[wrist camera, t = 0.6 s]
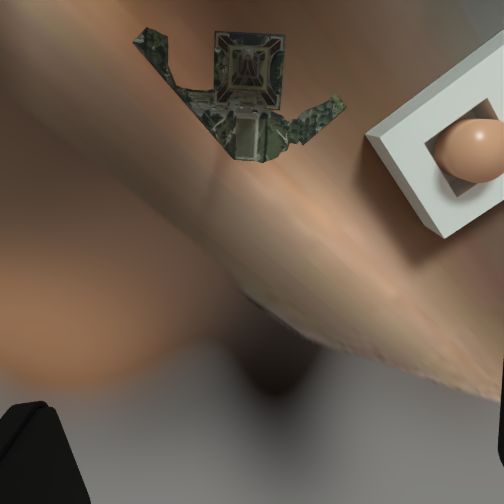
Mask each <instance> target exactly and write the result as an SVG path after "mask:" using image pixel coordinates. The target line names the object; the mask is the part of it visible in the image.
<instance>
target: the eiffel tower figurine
mask: <svg viewBox="0 0 504 504" xmlns="http://www.w3.org/2000/svg"><path fill="white" fill-rule="evenodd" d="M285 36H286V35H278V34H259V33H241V32H223V31H215V43H214V89H211V90H207V91H202V90H191V89H186V88H181V87H179V86H176V84H175V81H174V79H173V76H172V74H171V72H170V69H169V67H168V37H167V36H165V35H162V34H160V33H159V32H157V31H155V30H153V29H150V28H147V27H146V29H145V30H144V31H143V32H142V33H141V34H140V35H139V36H138V37H137V38H136V39H135V41H134V42H133V44H134V45H135V46H136V47H137V48H138V49H139V51H140V52H141V53H142V54H143V55H144V56H145V57H146V59H147V60H148V61H149V62H150V63H151V64H152V66H153V67H154V68H155V69H156V70H157V71H158V73H159V74H160V75H161V76H162V77H163V78H164V80H165V81H166V82H167V83H168V84H169V85H170V87H171V88H172V89H173V90H174V91H175V92H176V93H177V95H178V96H179V97H180V98H181V99H182V100H183V101H184V103H185V104H186V105H187V106H188V107H189V108H190V109H191V111H192V112H193V113H194V114H195V115H196V116H197V118H198V119H199V120H200V121H201V122H202V123H203V124H204V126H205V127H206V128H207V129H208V130H209V131H210V133H211V134H212V135H213V136H214V137H215V138H216V140H217V141H218V142H219V143H220V144H221V145H222V147H223V148H224V149H225V150H226V151H227V152H228V154H229V155H230V156H231V157H232V158H233V159H234V160H243V161H257V162H261V163H264V162H266V161H269V160H272V159H275V158H277V157H278V156H279V154H280V153H281V152H284V151H287V149H288V146H289V144H290V143H294V144H297V143H298V142H299V141H300V142H301V143H302V145H304V144H305V143H306V142H307V141H309V140H310V139H311V138H312V137H313V136H314V135H315V134H316V133H317V132H319V131H320V130H321V129H322V128H323V127H324V126H325V125H326V124H328V123H329V122H330V121H331V120H332V119H333V118H334V117H335V116H337V115H338V114H339V113H340V112H341V111H342V110H344V109H345V108H346V106H345V105H344V104H343V102H342V101H341V99H340V98H339V96H338V95H337V94H336V93H335V94H334V95H333V96H332V97H331V98H330V99H329V100H328V101H327V102H325V103H323V104H321V105H319V106H317V107H313V108H311V109H308V110H305V111H302V113H301V114H300V116H299V118H298V119H293V120H291V121H289V122H287V121H286V119H285V118H284V117H283V116H281V115H279V114H276V113H274V112H272V111H270V110H280V103H281V89H282V76H283V63H284V49H285ZM268 109H269V110H268Z"/></svg>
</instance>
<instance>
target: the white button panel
mask: <svg viewBox="0 0 504 504" xmlns="http://www.w3.org/2000/svg"><path fill="white" fill-rule="evenodd" d="M463 118H473V119H494V120H499V121H502V122H504V29H503V30H502V31H501V32H499V33H498V34H497V35H495V36H494V37H493V38H491V39H490V40H489V41H487V42H486V43H485V44H483V45H482V46H481V47H479V48H478V49H477V50H475V51H474V52H473V53H471V54H470V55H469V56H468V57H466V58H465V59H464V60H462V61H461V62H460V63H458V64H457V65H456V66H454V67H453V68H452V69H450V70H449V71H448V72H446V73H445V74H444V75H442V76H441V77H440V78H438V79H437V80H436V81H434V82H433V83H432V84H430V85H429V86H428V87H426V88H425V89H424V90H422V91H421V92H420V93H418V94H417V95H416V96H414V97H413V98H412V99H410V100H409V101H408V102H407V103H405V104H404V105H403V106H401V107H400V108H399V109H397V110H396V111H395V112H393V113H392V114H391V115H389V116H388V117H387V118H385V119H384V120H383V121H381V122H380V123H379V124H377V125H376V126H375V127H373V128H372V129H371V130H369V131H368V132H367V133H365V136H366V137H367V139H368V140H369V142H370V143H371V145H372V146H373V148H374V149H375V151H376V152H377V154H378V156H379V157H380V159H381V160H382V162H383V163H384V165H385V166H386V168H387V169H388V171H389V172H390V174H391V175H392V177H393V179H394V180H395V182H396V183H397V185H398V186H399V188H400V189H401V191H402V192H403V194H404V195H405V197H406V198H407V200H408V202H409V203H410V205H411V206H412V208H413V209H414V211H415V212H416V214H417V215H418V217H419V218H420V220H421V221H422V223H423V225H424V226H426V227H427V228H429V229H430V230H432V231H433V232H435V233H436V234H438V235H439V236H441V237H442V238H444V239H445V238H447V237H448V236H450V235H451V234H453V233H454V232H456V231H457V230H459V229H460V228H462V227H463V226H465V225H466V224H468V223H469V222H471V221H472V220H474V219H475V218H477V217H478V216H480V215H481V214H483V213H484V212H486V211H487V210H489V209H490V208H492V207H493V206H495V205H496V204H498V203H499V202H501V201H502V200H504V173H503V174H502V175H500V176H499V177H498V178H496V179H494V180H492V181H489V182H485V183H473V182H469V181H466V180H463V179H460V178H457V177H454V176H451V175H448V174H446V173H444V172H443V171H442V170H441V169H440V168H439V167H438V166H437V164H436V162H435V158H434V146H435V142H436V140H437V138H438V136H439V134H440V133H441V131H442V130H443V129H444V128H446V127H447V126H449V125H450V124H451V123H453V122H454V121H456V120H459V119H463Z"/></svg>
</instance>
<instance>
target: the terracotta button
mask: <svg viewBox="0 0 504 504" xmlns="http://www.w3.org/2000/svg"><path fill="white" fill-rule="evenodd" d="M434 158H435V162H436V164H437V166H438V167H439V168H440V169H441V170H442V171H443V172H444V173H446V174H448V175H451V176H454V177H457V178H460V179H463V180H466V181H469V182H473V183H485V182H489V181H492V180H494V179H496V178H498V177H499V176H500V175H502V174H503V173H504V122H502V121H499V120H494V119H473V118H463V119H459V120H456V121H454V122H453V123H451V124H450V125H449V126H447V127H446V128H444V129H443V130H442V131H441V133H440V134H439V136H438V138H437V140H436V142H435V146H434Z"/></svg>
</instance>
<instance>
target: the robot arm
mask: <svg viewBox="0 0 504 504" xmlns="http://www.w3.org/2000/svg"><path fill="white" fill-rule="evenodd" d="M498 453H499V457H500V460H501V462H502V464H503V466H504V361H503V376H502V391H501V406H500V423H499V436H498ZM0 504H91V501H90V497H89V495H88V492H87V489H86V487H85V484H84V482H83V479H82V476H81V474H80V471H79V469H78V466H77V464H76V461H75V459H74V456H73V453H72V451H71V448H70V445H69V443H68V440H67V438H66V435H65V433H64V430H63V428H62V425H61V422H60V420H59V417H58V415H57V412H56V410H55V409H54V408H53V407H49V406H48V405H47V403H45V402H44V401H37V402H29V403H22V404H16V405H13V406H11V407H10V408H9V409H8V410H7V412H6V413H5V414H4V415H3V416H2V418H1V419H0Z"/></svg>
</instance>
